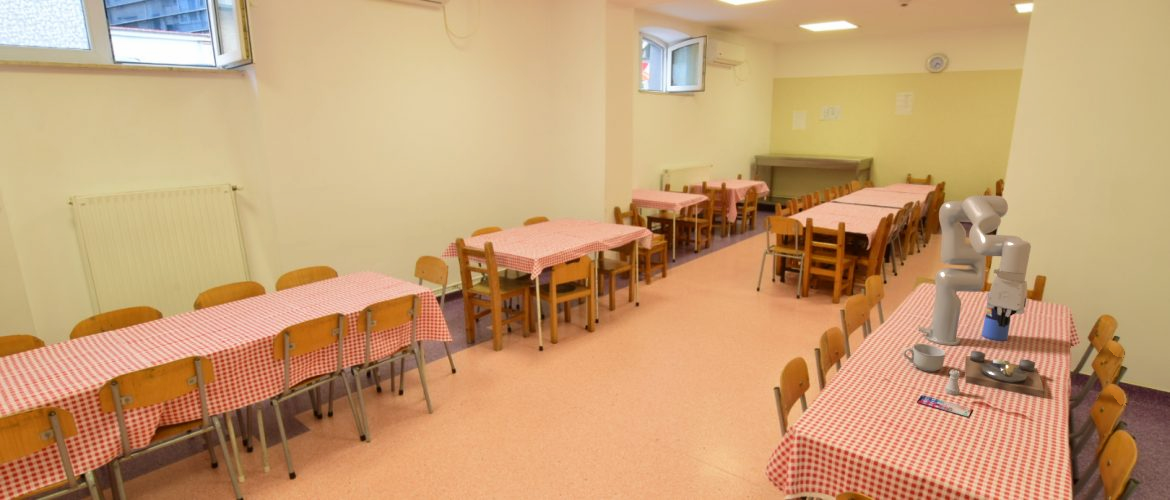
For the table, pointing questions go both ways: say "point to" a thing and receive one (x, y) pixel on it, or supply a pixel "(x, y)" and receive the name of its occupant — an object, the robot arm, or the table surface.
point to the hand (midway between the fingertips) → (1002, 325)
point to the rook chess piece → (953, 383)
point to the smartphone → (945, 406)
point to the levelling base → (976, 377)
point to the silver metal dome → (1004, 373)
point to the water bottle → (994, 326)
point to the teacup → (926, 357)
